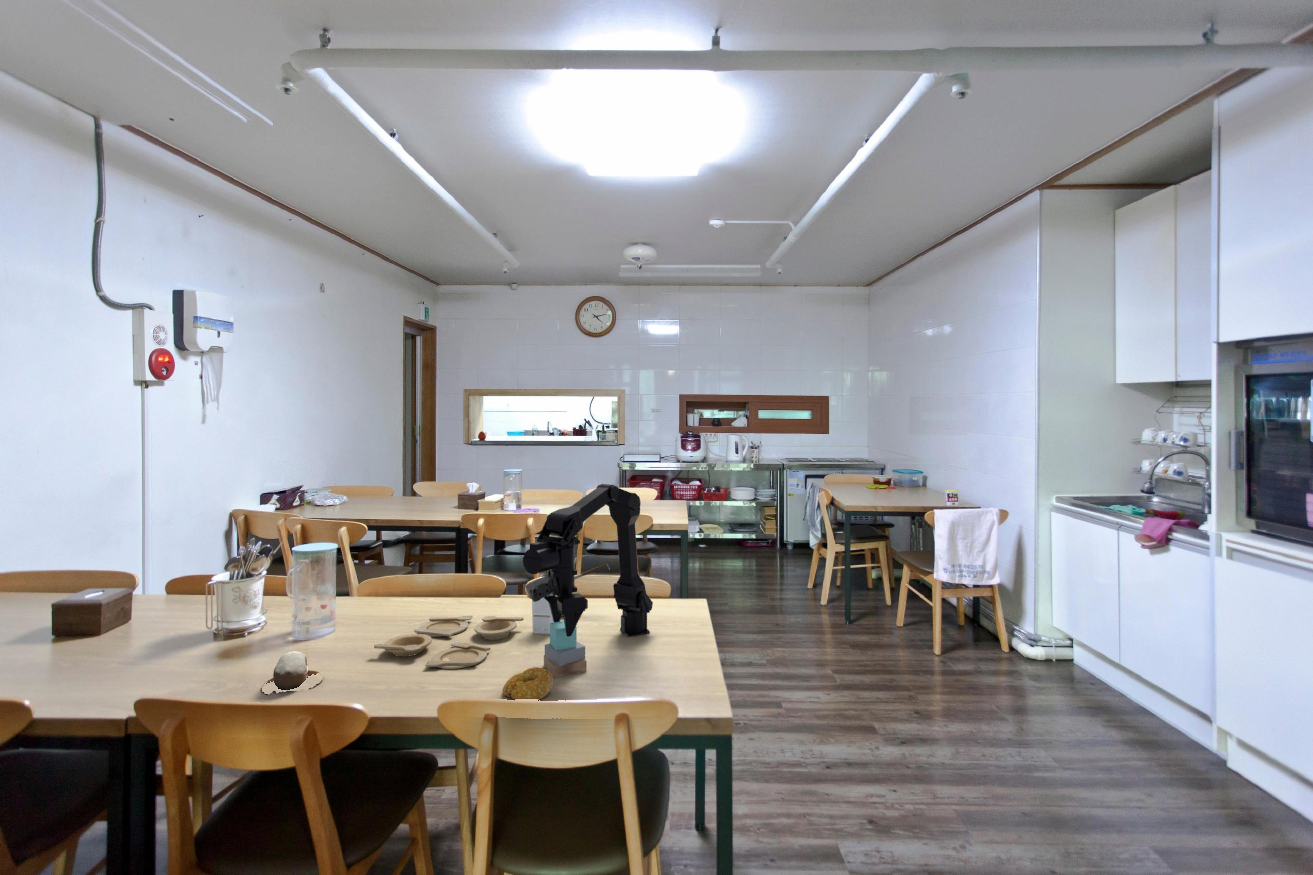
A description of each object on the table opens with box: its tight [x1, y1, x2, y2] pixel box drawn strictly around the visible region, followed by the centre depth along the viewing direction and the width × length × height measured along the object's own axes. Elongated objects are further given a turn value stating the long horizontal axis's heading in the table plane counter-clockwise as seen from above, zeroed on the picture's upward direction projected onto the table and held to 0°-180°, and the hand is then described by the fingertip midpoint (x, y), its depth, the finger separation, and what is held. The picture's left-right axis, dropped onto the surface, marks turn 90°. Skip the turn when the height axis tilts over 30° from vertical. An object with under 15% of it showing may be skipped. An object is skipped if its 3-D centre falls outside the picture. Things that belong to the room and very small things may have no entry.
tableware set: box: [373, 615, 524, 670], centre depth 167 cm, size 35×29×4 cm
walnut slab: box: [543, 654, 588, 678], centre depth 151 cm, size 8×8×3 cm
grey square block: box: [544, 641, 586, 666], centre depth 151 cm, size 7×7×3 cm
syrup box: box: [531, 576, 554, 635], centre depth 176 cm, size 6×6×14 cm
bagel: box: [502, 666, 554, 700], centre depth 137 cm, size 10×11×5 cm
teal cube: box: [549, 620, 578, 651], centre depth 150 cm, size 5×5×5 cm
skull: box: [265, 650, 320, 690], centre depth 141 cm, size 12×10×10 cm
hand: (562, 630), depth 150 cm, fingers open, 9 cm apart
